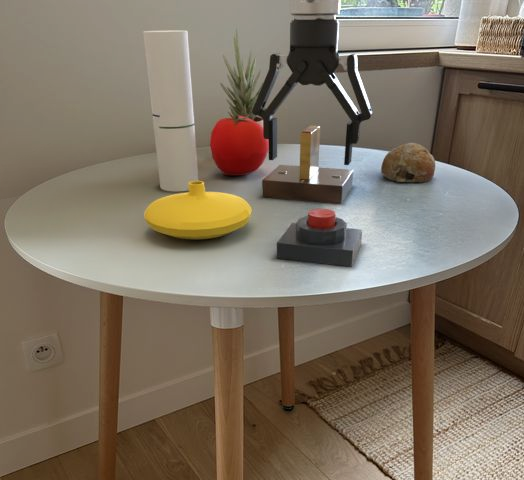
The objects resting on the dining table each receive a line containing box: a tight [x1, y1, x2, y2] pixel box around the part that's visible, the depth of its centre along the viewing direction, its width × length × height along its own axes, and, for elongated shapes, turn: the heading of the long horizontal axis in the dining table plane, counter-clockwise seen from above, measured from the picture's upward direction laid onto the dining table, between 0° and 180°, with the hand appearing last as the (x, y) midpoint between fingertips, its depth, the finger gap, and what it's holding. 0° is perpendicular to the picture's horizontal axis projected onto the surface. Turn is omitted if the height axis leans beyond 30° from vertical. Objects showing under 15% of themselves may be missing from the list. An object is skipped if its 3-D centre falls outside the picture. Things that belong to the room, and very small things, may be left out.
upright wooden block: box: [299, 125, 321, 180], centre depth 94 cm, size 7×2×8 cm, turn 163°
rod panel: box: [261, 164, 354, 205], centre depth 97 cm, size 14×11×3 cm
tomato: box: [209, 111, 269, 176], centre depth 105 cm, size 12×12×11 cm
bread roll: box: [380, 142, 436, 184], centre depth 104 cm, size 10×10×8 cm
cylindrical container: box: [142, 29, 199, 193], centre depth 95 cm, size 7×7×25 cm
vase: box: [143, 180, 253, 241], centre depth 79 cm, size 16×16×7 cm
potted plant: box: [220, 27, 264, 127], centre depth 116 cm, size 10×10×25 cm
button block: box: [276, 215, 363, 267], centre depth 73 cm, size 10×8×4 cm
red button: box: [307, 208, 337, 229], centre depth 71 cm, size 4×4×2 cm
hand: (309, 161), depth 95 cm, fingers open, 13 cm apart
